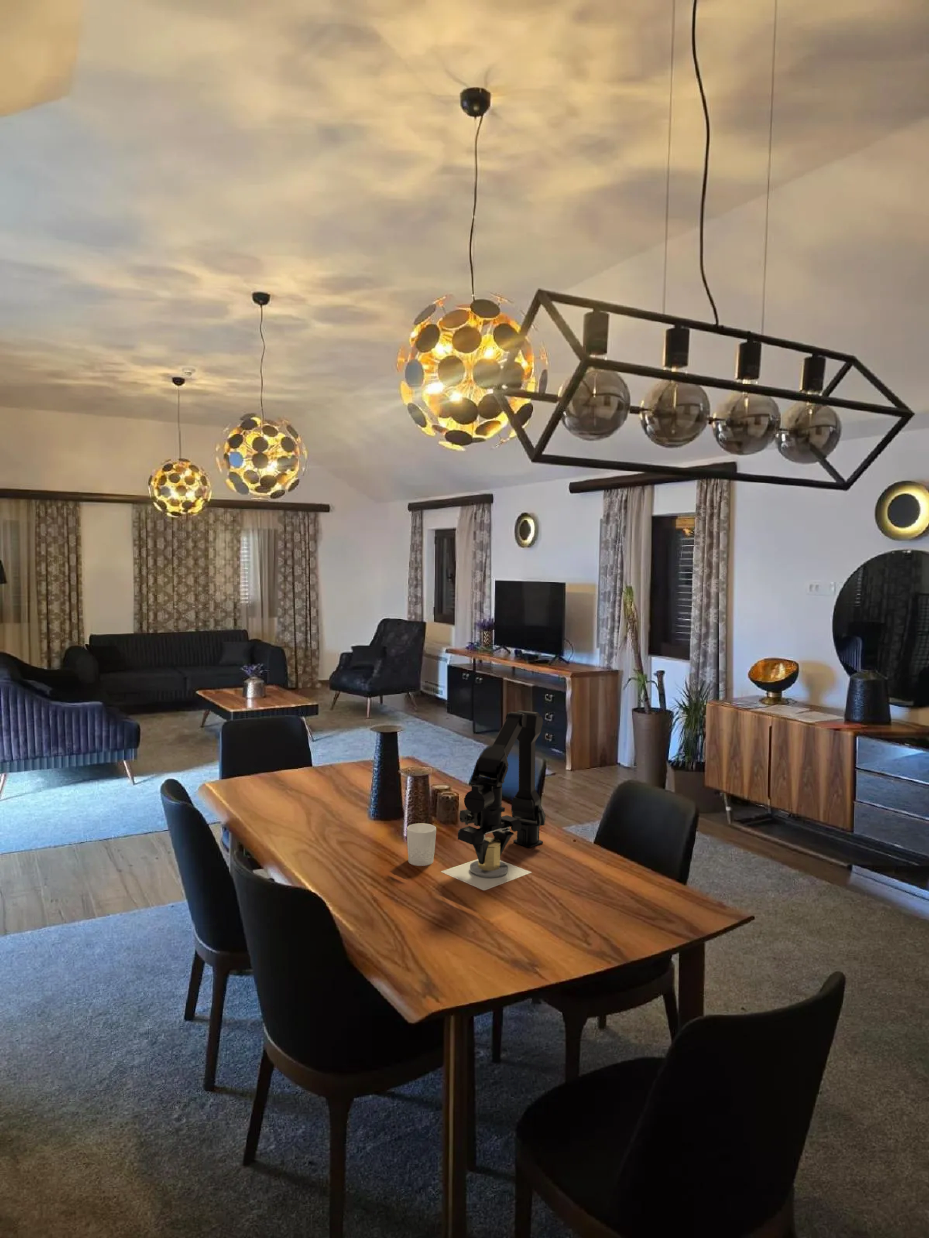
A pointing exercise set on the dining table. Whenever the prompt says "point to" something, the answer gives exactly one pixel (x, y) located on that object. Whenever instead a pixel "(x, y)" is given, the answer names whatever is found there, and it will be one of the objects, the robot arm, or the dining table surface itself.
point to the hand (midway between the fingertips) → (489, 861)
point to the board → (466, 876)
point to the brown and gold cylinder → (491, 855)
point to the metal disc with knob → (488, 871)
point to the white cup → (421, 843)
